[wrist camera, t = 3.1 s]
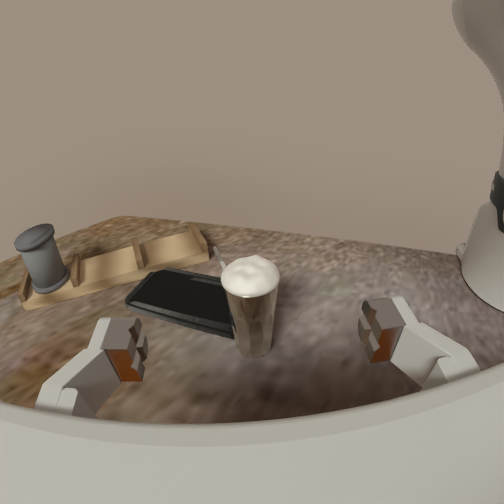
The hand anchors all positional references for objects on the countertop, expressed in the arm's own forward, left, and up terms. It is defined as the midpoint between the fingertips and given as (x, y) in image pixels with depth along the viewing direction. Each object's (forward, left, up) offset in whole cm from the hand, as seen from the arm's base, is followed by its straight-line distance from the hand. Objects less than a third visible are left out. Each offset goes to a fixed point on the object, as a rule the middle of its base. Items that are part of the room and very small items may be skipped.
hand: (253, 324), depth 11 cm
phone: (-1, -20, -15) cm, 25 cm away
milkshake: (-4, -11, -15) cm, 19 cm away
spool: (+16, -30, -13) cm, 37 cm away
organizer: (+8, -30, -15) cm, 34 cm away
